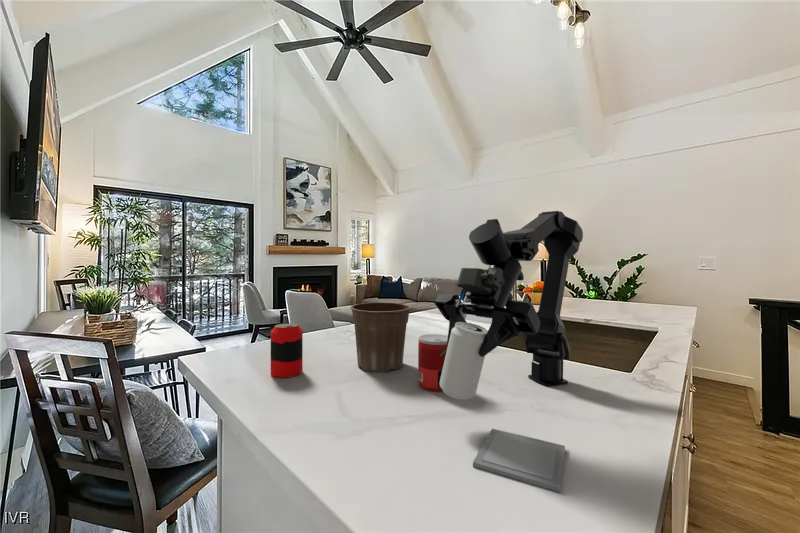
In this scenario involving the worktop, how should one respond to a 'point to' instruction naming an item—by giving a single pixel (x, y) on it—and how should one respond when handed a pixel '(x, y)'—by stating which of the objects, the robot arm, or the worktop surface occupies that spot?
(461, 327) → the beverage can
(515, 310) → the robot arm
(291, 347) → the soda can
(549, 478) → the coaster
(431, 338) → the canned food
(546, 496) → the worktop surface
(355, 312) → the plant pot
